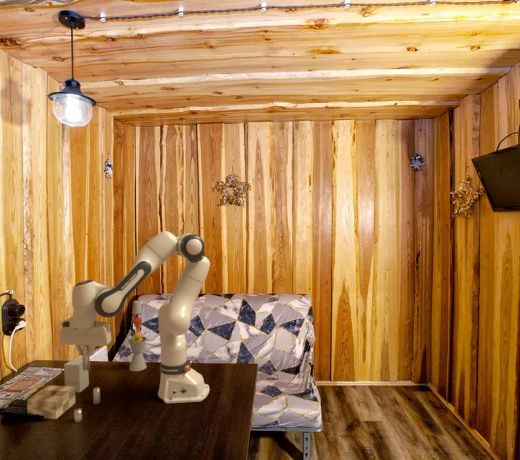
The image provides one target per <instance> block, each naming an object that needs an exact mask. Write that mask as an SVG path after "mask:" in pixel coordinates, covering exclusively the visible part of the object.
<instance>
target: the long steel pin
mask: <svg viewBox="0 0 520 460" xmlns="http://www.w3.org/2000/svg"><path fill="white" fill-rule="evenodd" d="M81 348H82V355H81V356H82V359H83V371H87V370H88V371H89V370H91V358H90V357H91V356H88V351H90V350H91V348H90V345H81Z"/></svg>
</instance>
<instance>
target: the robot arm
mask: <svg viewBox="0 0 520 460" xmlns="http://www.w3.org/2000/svg"><path fill="white" fill-rule="evenodd" d="M205 248H206V246H205V241H204V240H203V239H202V237H201V236H199V235H197V234H195V233H190V232H189V233H181V234H178V235H174V234H173V233H172V232H170V231H167V230H165V231H164V230H163V231H161V232H159V233H158V234H156V235H155V236H154V237H152V238H151V239H149V241H147V242H146V243H145V244H144V245H143V246H142V247H141V248H140V250H139V251H138V252H137V254H136V255H135V257H134V259H133V260H134V261H133V264H132V267H131V268H130V270H129V271H128V273H127V274H126V275H125V276H124V277H123V278H122V279H121V280H120V281H119V282H118V283H117V284H116V285H115V286H109V285H104V284H102V283H99V282H97V281H95V280H94V279H87V280H82V281H79V282H76V283H75V285H74V286H73V287H72V291H71V292H72V293H71V305H72V308H73V309H72V310H73V311H72V317H69V318H66V319H65V320H63V321H61V322H60V330H59V333H58V334H59V335H58V336H59V343H60V344H61V345H69V346H70V345H73V346H75V349H76V350H77V352H78V353H77V355H78V356H82V345H89V348H90V351H88V356H90V357H92V356H94V354H95V353H94V350H95V349H96V347H97V346H107V345H109V344H110V343H111V342H112V332H111V324H110V323H109V322H107V321H106V320H105V321H100V320H99V321H98V315H99V316H100V317H103V318H113V317H115V316H117V315H118V314H119V313H121V311H122V310H123V308H124V305H125V303H126V300H127V299H128V297H129V296H130V295H131V294H132V293H133V292H134V291H135V290H136V289H137V288H138V287H139V286H140V284H141V283H143V282H144V280H145V279H146V278H148V277H149V276H151V274H153V272H155V271H156V270H157V269H159V268H160V267H161V266H162V265H163V264H164V263H165V262H166V261H167V260H168V259H169V258H170V257H172V255H175V254H176V255H178V256H180V257H182V258H185V259H184V260H185V264H184V267H183V269H182V272H181V274H180V275H179V277H178V279H177V280H176V281H177V282H176V283H175V286H174V288H173V290H172V295H171V300H170V302H166V303H163V304H162V305H161V306H160V307H159V309H158V313H157V319H158V320H157V321H158V322H157V323H158V329H159V330H158V332H159V341H160V362H159V372H160V373H159V374H160V381H159V383H160V384H159V389H158V392H157V396H158V398H159V399H161V400H163V402H164V403H165V404H177V403H180V404H181V403H194V402H196V403H197V402H198V403H199V402H202V401H203V400H205V399H206V398H207V396H208V395H209V393H210V385H209V384H207V383H205V380H204V377H203V375H202V374H201V373H199V372H197V371H196V370H195V369H194V368H192V363H193V361H192V360H190V361H189V360H188V358H187V354H188V353H187V340H186V339H187V338H186V333H187V332H188V331H189V329H190V327H191V318H192V315H193V312H194V308H195V305H196V301H197V299H198V296H199V294H200V292H201V290H202V289H203V286H204V284H205V282H206V279H207V277H208V273H209V271H210V267H211V261H210V260H209V259H208V257H206V255H205V254H206V253H205V251H206V249H205Z"/></svg>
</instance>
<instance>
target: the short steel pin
mask: <svg viewBox="0 0 520 460" xmlns="http://www.w3.org/2000/svg"><path fill="white" fill-rule="evenodd" d="M73 415H74V416H73V418H74V420H73V421H74V423H79V422H81V421H83V410H82V408H80V407H79V408H75V409H74V410H73Z"/></svg>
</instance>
